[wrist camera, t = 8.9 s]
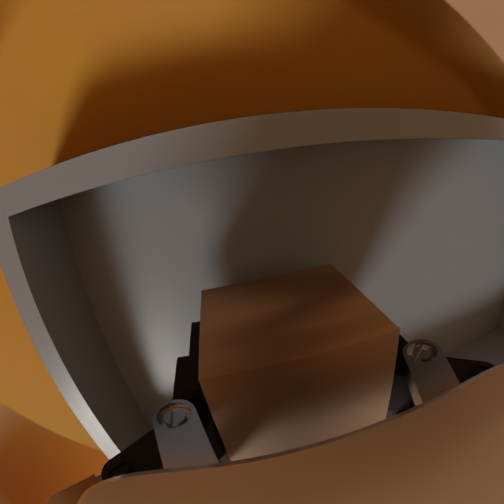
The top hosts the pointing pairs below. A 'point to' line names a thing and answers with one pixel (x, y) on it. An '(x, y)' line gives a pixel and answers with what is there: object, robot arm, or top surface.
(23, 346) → the top surface
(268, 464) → the robot arm
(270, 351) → the walnut cube
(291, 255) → the tote
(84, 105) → the top surface
